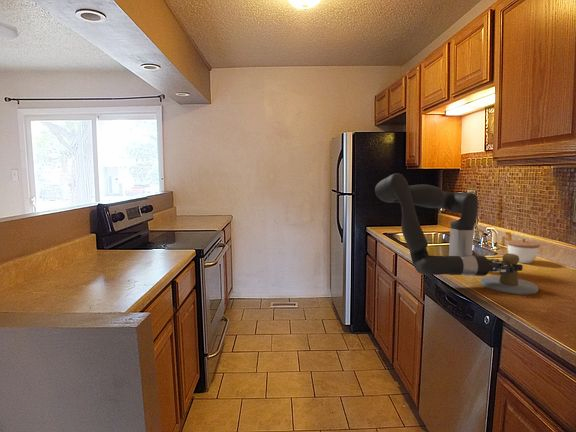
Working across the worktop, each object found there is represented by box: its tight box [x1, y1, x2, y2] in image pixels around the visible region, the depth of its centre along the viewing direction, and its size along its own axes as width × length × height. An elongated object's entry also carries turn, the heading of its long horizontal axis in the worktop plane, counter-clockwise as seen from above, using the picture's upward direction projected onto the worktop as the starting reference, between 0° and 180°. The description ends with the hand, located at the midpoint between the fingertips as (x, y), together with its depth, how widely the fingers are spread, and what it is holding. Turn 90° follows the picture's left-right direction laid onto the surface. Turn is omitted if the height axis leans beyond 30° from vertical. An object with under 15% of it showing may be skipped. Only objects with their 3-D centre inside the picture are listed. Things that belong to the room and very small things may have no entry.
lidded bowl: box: [507, 238, 541, 264], centre depth 164 cm, size 13×13×11 cm
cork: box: [499, 253, 519, 286], centre depth 128 cm, size 6×6×11 cm
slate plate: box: [480, 275, 539, 296], centre depth 129 cm, size 18×18×1 cm
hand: (517, 265), depth 128 cm, fingers closed on cork, 4 cm apart
